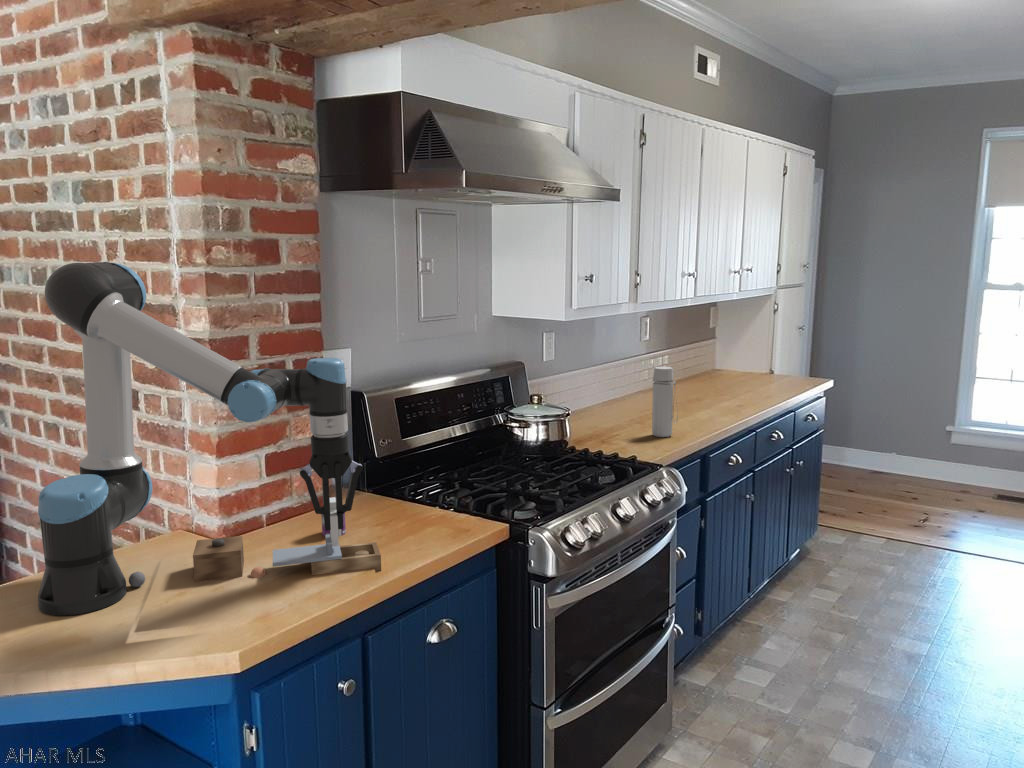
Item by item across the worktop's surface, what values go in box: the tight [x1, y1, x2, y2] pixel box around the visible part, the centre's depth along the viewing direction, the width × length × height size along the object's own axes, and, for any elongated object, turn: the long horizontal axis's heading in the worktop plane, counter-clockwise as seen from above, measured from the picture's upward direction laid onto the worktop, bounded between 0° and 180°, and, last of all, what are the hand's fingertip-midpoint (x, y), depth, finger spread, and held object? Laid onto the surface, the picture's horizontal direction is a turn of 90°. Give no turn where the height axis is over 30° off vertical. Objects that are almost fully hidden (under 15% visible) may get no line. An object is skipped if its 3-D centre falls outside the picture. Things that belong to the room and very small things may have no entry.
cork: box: [355, 551, 369, 556], centre depth 167 cm, size 3×3×3 cm
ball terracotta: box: [250, 566, 267, 578], centre depth 161 cm, size 3×3×3 cm
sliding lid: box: [272, 534, 342, 567], centre depth 164 cm, size 14×8×3 cm, turn 106°
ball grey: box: [128, 571, 146, 588], centre depth 159 cm, size 3×3×3 cm
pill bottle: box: [320, 496, 347, 537], centre depth 185 cm, size 5×5×10 cm
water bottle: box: [651, 366, 679, 438], centre depth 287 cm, size 9×8×25 cm
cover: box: [192, 535, 245, 583], centre depth 163 cm, size 9×9×8 cm
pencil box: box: [310, 541, 382, 576], centre depth 166 cm, size 14×8×4 cm, turn 106°
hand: (334, 544), depth 165 cm, fingers closed
